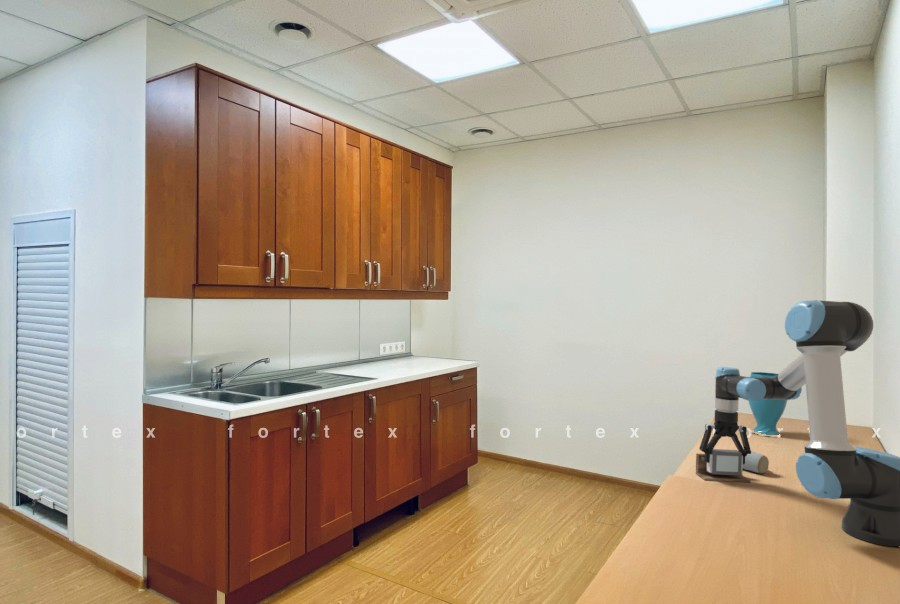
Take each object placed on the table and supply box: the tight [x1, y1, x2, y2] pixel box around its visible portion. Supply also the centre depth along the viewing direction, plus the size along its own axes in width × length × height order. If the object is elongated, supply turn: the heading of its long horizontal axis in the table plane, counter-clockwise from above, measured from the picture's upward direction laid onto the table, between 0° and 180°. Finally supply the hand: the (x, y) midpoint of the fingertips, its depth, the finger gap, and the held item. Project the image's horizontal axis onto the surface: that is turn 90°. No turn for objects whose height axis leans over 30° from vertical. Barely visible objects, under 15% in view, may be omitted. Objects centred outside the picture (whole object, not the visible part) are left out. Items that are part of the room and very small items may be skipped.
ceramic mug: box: [743, 450, 770, 475], centre depth 206 cm, size 11×8×8 cm
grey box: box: [711, 448, 742, 475], centre depth 194 cm, size 4×10×8 cm, turn 88°
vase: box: [748, 371, 788, 435], centre depth 270 cm, size 17×17×30 cm
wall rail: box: [695, 452, 751, 483], centre depth 196 cm, size 8×16×8 cm, turn 88°
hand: (724, 472), depth 194 cm, fingers closed on grey box, 10 cm apart
